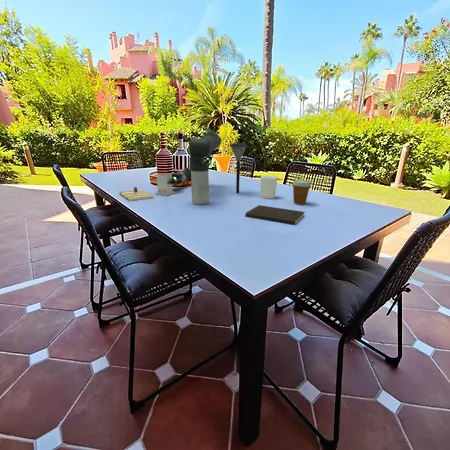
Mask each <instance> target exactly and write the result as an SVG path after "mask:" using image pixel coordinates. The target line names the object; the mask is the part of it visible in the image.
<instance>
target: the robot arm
mask: <svg viewBox="0 0 450 450" xmlns="http://www.w3.org/2000/svg"><path fill="white" fill-rule="evenodd" d="M221 144H222V138H221V136H219V135H218V134H217V133H215V132H214V131H213V130H211V129H210V130H208V131H207V132H206V133H205V135H204V136H203V137H200V138H198V137H195V138H190V140H189V146H188V148H189V162H190V163H189V167H185V168H184V169H183V170H182V171H177V172H174V173H171V174H172V181H171V184H172V185H174V186H177V185H180V184H184V183H185V182H187V181H188V182H190V181H191V182H190V183H191V184H190V185H191V186H190V187H191V203H192V204H194V205H207V204H210V184H209V179H210V178H209V177H210V175H209V174H210V173H209V170H210V169H209V165H208V164H207V163H204V161H205V158H208V157H210V155H211V154H212V152H213V151H215V150H216V149H218V148H219V147H220V146H221Z"/></svg>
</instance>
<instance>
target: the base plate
mask: <svg viewBox="0 0 450 450" xmlns="http://www.w3.org/2000/svg"><path fill="white" fill-rule="evenodd" d="M119 195H120V196H121V197H123V199H125V200H127V201H128V202H133V201H134V202H135V201H142V200H149V199H155V196H154V195H153V194H151V193H150V192H148V191H146V190H145V189H138V187H137V186H134V188H133V190H126V191H125V190H124V191H119Z"/></svg>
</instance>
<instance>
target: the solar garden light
mask: <svg viewBox="0 0 450 450" xmlns="http://www.w3.org/2000/svg"><path fill="white" fill-rule="evenodd" d="M228 147H229V148H230V147H231V149H232V152H233V155H234V157H235V159H236V177H235V178H236V179H235V180H236V183H235V185H236V186H235V187H236V188H235V191H236V192H235V193H236V194H240V176H241V175H240V170H241V169H240V168H241V167H240V166H241V159H242V157H243V155H244V153H245V150H246V148H249V147H250V146H249V145H248V144H246V143H243V142H241V143H239V142H234V143H232V144H230V145H229V146H228Z"/></svg>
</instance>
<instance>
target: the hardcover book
mask: <svg viewBox="0 0 450 450" xmlns="http://www.w3.org/2000/svg"><path fill="white" fill-rule="evenodd" d="M305 212H306V211H301V210H294V209H287V208H279V207H274V206H267V205H262V204H261V205H260V204H259V205H257V206H255V207H253V208H251V209H250V210H248V211H246V212H245V214H244V215H245V216H244V217H245V218H251V219H257V220H263V221H269V222H275V223H280V224H284V225H285V224H286V225H290V226H291V225H292V226H295V225H296V224H297V223H298V222H299V221H300V220H301V219H302V218H303V217H304V215H305Z"/></svg>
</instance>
